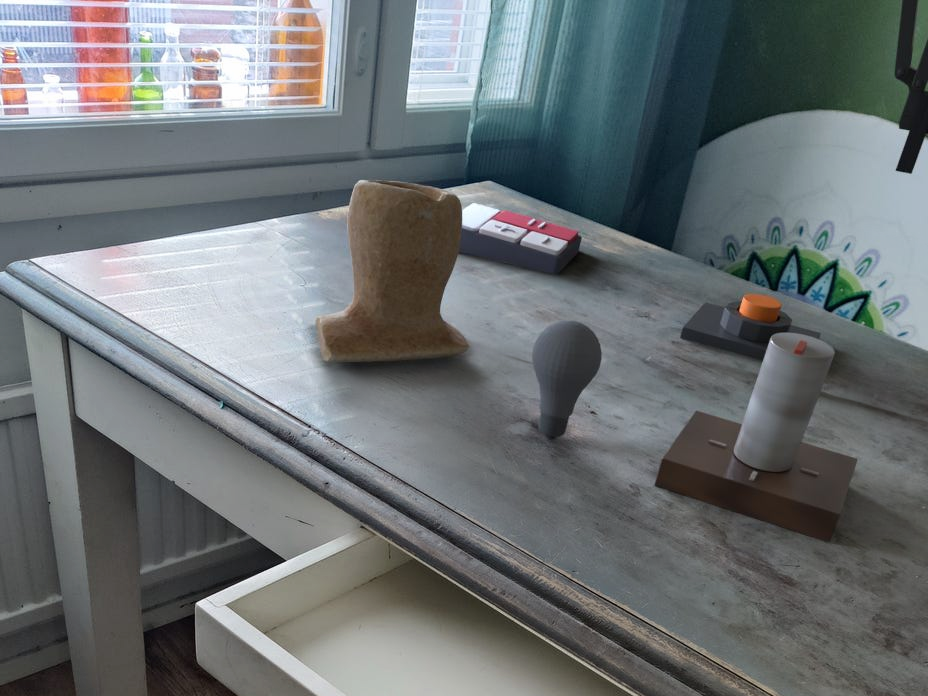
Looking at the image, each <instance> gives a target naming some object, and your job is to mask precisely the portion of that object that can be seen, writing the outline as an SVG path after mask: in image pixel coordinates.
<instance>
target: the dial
mask: <svg viewBox="0 0 928 696" xmlns="http://www.w3.org/2000/svg"><path fill="white" fill-rule="evenodd" d="M835 354H836V352H835V349H834V348H833V346H831V345H830V344H828V343H827V342H825V341H823V340H821V339H820V338H819V339H816V338H813V337H810V336H807V335H802V334H797V333H777V334H774V335H773V336H772V337H771V338H770V341H769V344H768V347H767V350H766V353H765V356H764V359H763V361H761V362H762V363H761V366H760V369H759V372H758V375H757V378H756V381H755V384H754V387H753V389H752V393H751V396H750V399H749V401H748V404H747V407H746V411H745V414H744V416H743V420H742V423H741V424H742V426H741V429H740V432H739V435H738V438H737V441H736V444H735V447H734V454H735V456H736V457H737V458H738V459H739V460H740V461H742V462H743V463H745V464H747V465H749V466H751V467H753V468H756V469H760V470H764V471H770V472H783V471H786V470H789V469H790V468H791V467H792V466H793V463H794V461H795V458H796V455H797V453H798V450H799V447H800V445H801V442H803V439H804V436H805V434H806V432H807V428H808V426H809V423H810V421H811V418H812V416H813V413H814V410H815V408H816V404H817V402H818V400H819V397H820V394H821V392H822V388H823V386H824V384H825V380H826V379H827V375H828V373H829V370H830V368H831V365H832V362H833V361H834V360H833V359H834V356H835Z"/></svg>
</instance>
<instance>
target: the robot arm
mask: <svg viewBox="0 0 928 696" xmlns="http://www.w3.org/2000/svg"><path fill="white" fill-rule="evenodd" d="M919 1H920V0H902V1H901V9H900V10H901V11H900V19H899V27H898V28H899V29H898V36H897V46H896V55H895V65H894V73H893V74H894V77H895V79H896V80H899V82H901V83H903V84H904V85H906V86H907V88H908V95H907V97H906V101H905V103H904V106H903V109H902V112H901V115H900V117H899V120H898V129H899V130H905V131H908V133H907V136H906V139H905V141H904V145H903V147H902V151H901V153H900V156H899V160H898V163H897V165H896V168H895V172H900V173H905V174H909V175H912V174H913V171H914V169H915V165H916V163H917V160H918V157H919V154H920V152H921V150H922V147H923V144H924V141H925V138H926V135H928V90H926V87H927V84H928V38H927V40H926V42H925V45H924V48H923V50H922V54H921V57H920V60H919V63H918V65H917V68H915V67H914V66H912V60H913V52H914V44H915V43H914V42H915V34H916V27H917V16H918V10H919V9H918V8H919Z"/></svg>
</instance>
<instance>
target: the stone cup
mask: <svg viewBox="0 0 928 696" xmlns="http://www.w3.org/2000/svg"><path fill="white" fill-rule="evenodd" d="M462 210H463V207H462V202H461V200H460V199H459V197H458V195H456V194H455V193H454V192H449V191H447V190H445V189H442V188H438V187H434V186H431V185H430V186H429V185H423V184H418V183H411V182H406V181H405V182H404V181H397V180H395V181H394V180H382V179H381V180H380V179H360V180H358V181H357V182H356V183H355V185H354V187H353V190H352V193H351V196H350V199H349V205H348V209H347V215H346V228H347V237H348V244H349V245H348V246H349V253H350V261H351V267H352V279H353V295H352V299H351V302H350V303H349V304H348V305H347V307H346V308H344V309H343V310H342V311H338V312H335V313H329V314H324V315H319V316H316V319H315V328H316V330H317V341H318V342H319V351H320V355H321V357H322V360H323V361H324V362H328V363H345V362H346V363H353V362H354V363H355V362H359V363H361V362H362V363H363V362H365V363H366V362H367V363H368V362H369V363H370V362H395V361H407V360H408V361H409V360H425V359H436V358H443V357H444V358H445V357H453V356H459V355H462V354H465V353H466V352H468V350H469V346H470V345H469V343H468V341H467V339H466V337H465V335H463V334H462V333H461V332H460V331H459V329H457V328H455V327H454V326H453V325H452V324H451V323H449V322H447V321H446V320H444V319H443V317H442V315H441V305H442V302H443V301H442V300H443V296H444V294H445V291H446V287H447V284H448V282H449V280H450V279H451V276H452V274H453V271H454V268H455V265H456V262H457V260H458V256H459V248H460V241H461V231H462Z"/></svg>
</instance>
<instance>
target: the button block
mask: <svg viewBox="0 0 928 696" xmlns="http://www.w3.org/2000/svg"><path fill="white" fill-rule="evenodd" d="M741 303H742V300H739V301H732V302H728V303H727V304H726V305H725V306H721V305H718V304H715V303H710V302H707V301H705V302H704V303H703V304H702V305H701V306H700V308H699V309H697V311H696V312H695V313H694V314H693V315H692V316H691V318H690V319H688V321H687V322H686V323H685V324H684V325H683V326H682V329H681V333H680V335H679V339H682V340H685V341H688V342H689V341H690V342H693V343H697V344H700V345H702V346H703V345H704V346H706V347H707V346H708V347H711V348H714V349H718V350H721V351H725V352H729V353H732V354H735V355H740V356H743V357H747V358H750V359H754V360H757V361H761V362H763V359H764V356H765V353H766V350H767V347H768V344H769V341H770V338H771V337H772V336H773V335H774V334H777V333H797V334H802V335H807V336H810V337H813V338H816V339H819V340H820V338H821V335H822V333H821V332H819V331H814V330H811V329H807V328H804V327H800V326H796V325H792V323H793V319H792V318H791V317H790V316H789V315H788V314H787V312H785V311H783V310H780V312H779V315H778V318H777V321H776V322H765V321H758V320H754V319H750V318H748V317H746V316H743V315H741V314H740V313H739V310H740V306H741Z"/></svg>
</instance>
